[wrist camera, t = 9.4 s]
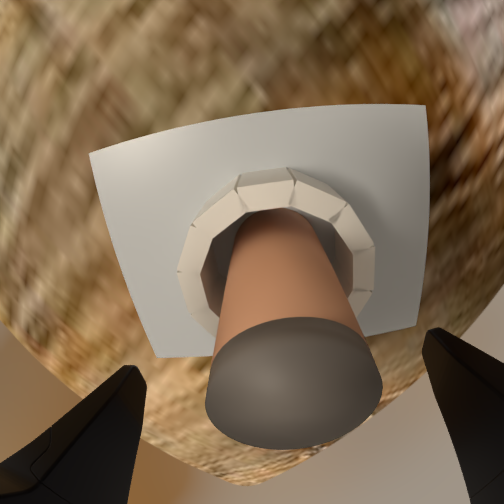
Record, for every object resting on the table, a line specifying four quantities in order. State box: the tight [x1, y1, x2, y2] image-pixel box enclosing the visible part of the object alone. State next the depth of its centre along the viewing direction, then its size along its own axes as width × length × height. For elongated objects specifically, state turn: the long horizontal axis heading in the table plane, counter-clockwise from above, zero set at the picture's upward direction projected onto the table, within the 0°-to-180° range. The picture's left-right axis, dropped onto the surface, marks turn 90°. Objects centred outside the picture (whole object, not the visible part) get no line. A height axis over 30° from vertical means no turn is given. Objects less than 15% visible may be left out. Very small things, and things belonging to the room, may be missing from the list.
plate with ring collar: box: [89, 104, 430, 358], centre depth 14 cm, size 18×14×4 cm
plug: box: [205, 208, 383, 450], centre depth 11 cm, size 4×4×10 cm
